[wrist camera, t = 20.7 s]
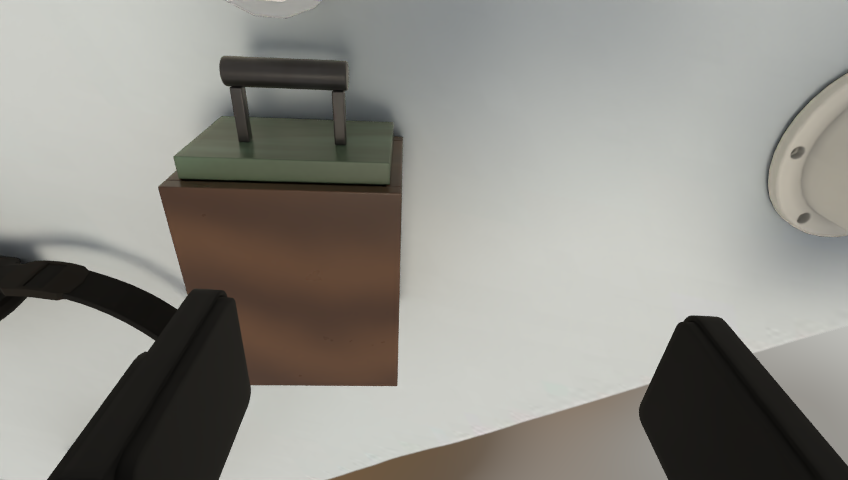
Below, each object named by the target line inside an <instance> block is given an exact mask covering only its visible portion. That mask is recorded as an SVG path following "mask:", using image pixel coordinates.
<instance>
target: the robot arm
mask: <svg viewBox="0 0 848 480" xmlns="http://www.w3.org/2000/svg"><path fill="white" fill-rule="evenodd" d="M768 189H769V197H770V200H771V202H772V204H773V207H774V209H775V210H776V211H777V213H778V214H779V215H780V216H781V217H782V219H784V220H785V221H787V222H788V223H789V224H791V225H792V226H794V227H795V228H797V229H799V230H801V231H803V232H805V233H807V234H812V235H816V236H821V237H840V236H847V235H848V73H847V74H845V75H844V76H842V77H841V78H839V79H838V80H836V81H834V82H833V83H831V84H830V85H829V86H827V87H826V88H825V89H824V90H823V91H822V92H820V93H819V94H818V95H817V96H816V97H814V98H813V99H812V100H811V101H810V102H809V103H808V104H807V105H806V106H805V108H804V109H803V110H802V111H801V112H800V113H799V114H798V115H797V116H796V117H795V119H794V120H793V122H792V123H791V125H790V126H789V127H788V129H787V130H786V132H785V133H784V134H783V136H782V138H781V140H780V142H779V144H778V146H777V148H776V150H775V152H774V155H773V159H772V162H771V165H770V168H769V177H768ZM250 394H251V387H250V381H249V375H248V370H247V364H246V358H245V353H244V347H243V341H242V336H241V330H240V324H239V319H238V313H237V307H236V302H235V300H234V298H231V297H227V294H226V292H225V291H224V290H214V289H193V290H192V291H191V292H190V293H189V294H188V296H187V297H186V299H185V300H184V301H183V303H182V304H181V306H180V307H179V308H178V310H177V311H176V313H175V314H174V315H173V317H172V318H171V320H170V321H169V323H168V324H167V325H166V327H165V328H164V330H163V331H162V332H161V334H160V335H159V337H158V338H157V339H156V341H155V342H154V344H153V345H152V346H151V348H150V349H149V351H148V352H144V353H142V354H140V355H139V356H138V357H137V358H136V359H135V360H134V361H133V362H132V364H131V365H130V367H129V368H128V369H127V371H126V372H125V373H124V375H123V376H122V378H121V379H120V380H119V382H118V383H117V384H116V386H115V387H114V389H113V390H112V391H111V393H110V394H109V395H108V397H107V398H106V400H105V401H104V402H103V404H102V405H101V406H100V408H99V409H98V411H97V412H96V413H95V415H94V416H93V417H92V419H91V420H90V422H89V423H88V424H87V426H86V427H85V428H84V430H83V431H82V433H81V434H80V435H79V437H78V438H77V439H76V441H75V442H74V443H73V445H72V446H71V448H70V449H69V450H68V452H67V453H66V454H65V456H64V457H63V459H62V460H61V461H60V463H59V464H58V465H57V467H56V468H55V470H54V471H53V472H52V474H51V475H50V476H49V478H48V479H47V480H219V477H220V475H221V472H222V470H223V467H224V465H225V462H226V460H227V457H228V455H229V452H230V450H231V447H232V445H233V442H234V440H235V437H236V434H237V432H238V429H239V427H240V424H241V422H242V419H243V417H244V414H245V412H246V409H247V407H248V404H249V400H250ZM639 417H640V421H641V423H642V426H643V427H644V430H645V432H646V434H647V436H648V438H649V440H650V442H651V444H652V447H653V449H654V451H655V453H656V455H657V457H658V459H659V461H660V463H661V465H662V468H663V469H664V472H665V474H666V476H667V478H668V480H848V466H847V465H846V464H845V462H844V461H843V460H842V459H841V458H840V456H839V455H838V454H837V453H836V452H835V450H834V449H833V448H832V447H831V446H830V445H829V443H828V442H827V441H826V440H825V439H824V437H823V436H822V435H821V434H820V433H819V432H818V430H817V429H816V428H815V427H814V426H813V425H812V423H811V422H810V421H809V420H808V419H807V418H806V416H805V415H804V414H803V413H802V412H801V410H800V409H799V408H798V407H797V406H796V404H795V403H794V402H793V401H792V400H791V399H790V397H789V396H788V395H787V394H786V393H785V391H783V389H782V388H781V387H780V386H779V384H778V383H777V382H776V381H775V380H774V378H773V377H772V376H771V375H770V374H769V373H768V371H767V370H766V369H765V368H764V367H763V366H762V364H761V363H760V362H759V361H758V360H757V358H756V357H755V356H754V355H753V354H752V352H751V351H750V350H749V349H748V348H747V347H746V345H745V344H744V343H743V342H742V341H741V339H740V338H739V337H738V336H737V335H736V334H735V332H734V331H733V330H732V329H731V328H730V327H729V325H728V324H727V323H726V322H725V321H724V320H723V319H722V318H719V317H712V316H688V317H687V318H686V319H685V320H684V322H680V323H679V324H678V325H677V326H676V328H675V330H674V333H673V335H672V337H671V339H670V341H669V343H668V346H667V348H666V350H665V352H664V354H663V356H662V359H661V361H660V363H659V365H658V367H657V369H656V372H655V374H654V376H653V378H652V380H651V382H650V384H649V387H648V389H647V391H646V393H645V395H644V398H643V400H642V402H641V404H640V408H639Z"/></svg>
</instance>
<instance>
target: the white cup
mask: <svg viewBox="0 0 848 480" xmlns="http://www.w3.org/2000/svg"><path fill="white" fill-rule="evenodd" d="M225 1H227V2H229V3H231V4H233V5H235V6H237V7H239V8H241V9H242V10H244V11H246V12H248V13H250V14H252V15H254V16H263V17H274V18H285V19H286V18H289V17H292V16H295V15H297V14H300V13H303V12H305V11H308V10H311V9H314V8H315V7H316V6H317V5H318V4H319V3H320V2H321V1H322V0H225Z"/></svg>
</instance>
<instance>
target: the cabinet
mask: <svg viewBox="0 0 848 480" xmlns="http://www.w3.org/2000/svg"><path fill="white" fill-rule="evenodd" d="M402 158H403V137H396V136H393V151H392V164H391V177H390V184H389V185H382V187H378V186H342V185H307V184H272V183H237V182H218V181H219V180H202V179H179V178H178V173H177V170H176V171H175V172H174V173H173V174H172V175H171V176H170V177H169V178H168V179H166V181H164V182H163V183H162V184H161V185H160V186H158V189H159V192H160V196H161V200H162V203H163V207H164V211H165V214H166V218H167V222H168V225H169V229H170V232H171V236H172V240H173V243H174V247H175V251H176V254H177V258H178V262H179V265H180V269H181V272H182V276H183V280H184V283H185V287H186V291H187V294H189V293H190V292H191V291H192V290H193V289H214V290H224V291H225V292H226V294H227V297H231V298H234V300H235V302H236V307H237V313H238V319H239V324H240V330H241V336H242V341H243V347H244V353H245V358H246V364H247V370H248V375H249V381H250V385H315V386H397V378H398V334H399V290H400V246H401V203H402Z"/></svg>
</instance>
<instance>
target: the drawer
mask: <svg viewBox="0 0 848 480" xmlns="http://www.w3.org/2000/svg"><path fill="white" fill-rule="evenodd" d="M220 76H221V79H222V82H223V83H224V85H226V86H231V87H230V93H231V99H232V105H233V111H234V117H232V116H221V117H220V118H219V119H218V120H217V121H215V122H214V123H213V124H212V125H211V126H209V127H208V128H207V129H206V130H205V131H203V132H202V133H201V134H200V135H199V136H197V137H196V138H195V139H194V140H193V141H191V142H190V143H189V144H188V145H187V146H185V147H184V148H183V149H182V150H181V151H179V152H178V153H177V154H176V155H175V156H174V161H175V165H176V169H177V173H178V178H179V179H202V180H219V181H218V182H237V183H272V184H307V185H342V186H378V187H382V185H389V184H390V177H391V164H392V151H393V125H394V123H393V122H373V121H346V104H345V91H347V90H348V88H349V66H348V62H347V61H336V60H313V59H289V58H265V57H241V56H223V57H221V60H220ZM245 87H260V88H286V89H312V90H333V91H332V104H333V120H317V119H288V118H260V117H249V111H248V104H247V98H246V91H245Z"/></svg>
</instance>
